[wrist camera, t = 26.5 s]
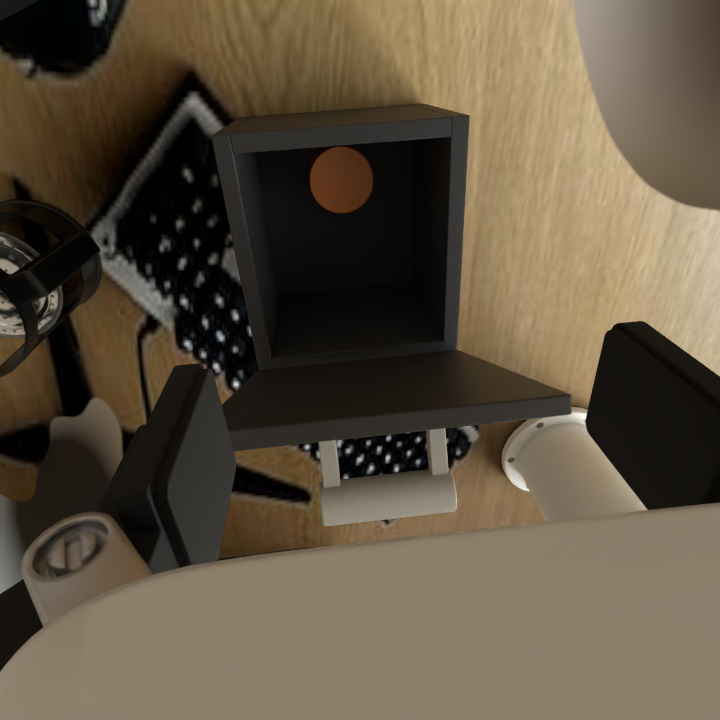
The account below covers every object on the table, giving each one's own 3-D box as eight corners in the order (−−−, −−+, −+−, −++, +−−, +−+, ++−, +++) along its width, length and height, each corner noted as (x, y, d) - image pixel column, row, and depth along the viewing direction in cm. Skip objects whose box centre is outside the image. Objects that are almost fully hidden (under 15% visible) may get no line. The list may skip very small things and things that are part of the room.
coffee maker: (239, 117, 35) (210, 135, 25) (424, 103, 36) (469, 115, 26) (271, 301, 43) (259, 372, 33) (422, 287, 44) (457, 352, 34)
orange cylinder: (331, 208, 38) (333, 225, 34) (297, 160, 36) (296, 172, 32) (376, 176, 37) (385, 189, 33) (345, 125, 35) (350, 132, 31)
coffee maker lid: (189, 435, 17) (208, 565, 17) (572, 394, 17) (576, 521, 18) (257, 369, 32) (266, 440, 33) (458, 349, 33) (462, 419, 34)
